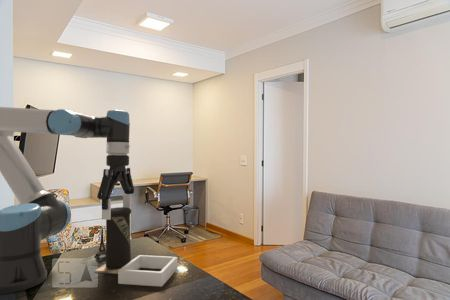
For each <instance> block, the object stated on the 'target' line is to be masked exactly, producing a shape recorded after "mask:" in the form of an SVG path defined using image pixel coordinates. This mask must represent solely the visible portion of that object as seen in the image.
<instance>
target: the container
mask: <svg viewBox="0 0 450 300" xmlns="http://www.w3.org/2000/svg"><path fill="white" fill-rule="evenodd" d="M131 213H132V208H131V209H130V208H126V207H123V206H121V207H113V208H112V207H111V219H110V220H105V249H106V260H105V264H106V267H107V268H109V269H121V268H122V267H123V266H125V265H126V264H128V263H129V262H130V261H131V260H132V256H131V255H132V254H131V253H132V252H131V217H130V215H131Z"/></svg>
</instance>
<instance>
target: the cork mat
mask: <svg viewBox="0 0 450 300" xmlns="http://www.w3.org/2000/svg"><path fill="white" fill-rule="evenodd" d="M132 260H133V259H131V261H132ZM118 270H119V269H109V268H107V267H106V263H104V264H103V265H100V266H99V267H98V268H97V269H95V270H94V273H102V274H115V275H116V274H117V275H118Z"/></svg>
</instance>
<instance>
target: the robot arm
mask: <svg viewBox="0 0 450 300" xmlns="http://www.w3.org/2000/svg"><path fill="white" fill-rule="evenodd" d="M130 126H131V124H130V114H129V112H128V111H126V110H121V109H120V110H119V109H112V110H107V112H106V116H91V115H87V114H83V113H79V112H76V111H73V110H72V109H63V108H60V109H43V108H42V109H39V108H27V107H26V108H25V107H23V108H22V107H9V106H0V173H1V175H2V176H3V178H4V180H5V182H6V183H7V185H8V187H9V188H10V189H11V191H12V193H13V195H14V196H15V198H16V199H17V200H18V203H19V204H16V205H10V206H7V207H4V208H2V209H0V295H2V294H12V293H17V292H22V291H25V290H27V289H31V288H34V287H36V286H38V285H40V284H42V283H44V282H45V281H46V280H47V278H48V268H47V267H46V265H45V262H44V259H43V257H42V252H41V251H42V250H41V249H42V246H41V245H42V243H41V242H42V240H45V239H46V238H50V237H52V236H56V235H58V234H59V233H60V232H63V231H64V230H65V229H66V228H67V227H68V226H69V224H70V221H71V218H72V212H71V208H70V206H69V205H68V204H67V203H66V202H64V201H62V200H58V199H57V198H56V196H55V195H54V193H53V192H50V191H47V190H46V189H45V188H44V186H43V184H42V183H41V181H40V179H39V178H38V176H37V174H36V173H35V172H34V170H33V168H32V167H31V165H30V164H29V162H28V160H27V159H26V157H25V156H24V154H23V152H22V151H21V150H20V148H19V146H18V145H17V143H16V141H15V140H14V138H13V137H14V135H15V133H28V134H29V133H32V134H43V135H44V134H45V135H46V134H49V135H58V136H59V135H61V136H71V137H72V136H73V137H75V138H81V139H87V138H90V139H92V138H93V139H94V138H96V139H97V138H98V139H99V138H104V139H105V138H106V153H105V154H107V155H106V166H107V167H108V166H109V168H104V169H103V172H102V173H103V174H102V178H101V182H100V186H99V189H98V191H97V192H98V193H97V195H96V196H97V197H96V198H97V199H98V200H101V220H105V221H106V220H110V219H111V208H112V202H111V201H112V200H111V195H112V193H113V191H114V188H115V186H116V185H117V183H118V182H119V183H120V186H121V188H122V190H123V192H124V193H123V194H122V207H126V208H130V209H131V210H132V208H131V207H132V205H131V204H132V200H131V199H132V194H134V193H135V187H134V182H133V179H132V178H133V177H132V174H131V167H128V166H129V165H130V156H129V155H128V154H130Z"/></svg>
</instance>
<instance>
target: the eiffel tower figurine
mask: <svg viewBox="0 0 450 300" xmlns="http://www.w3.org/2000/svg"><path fill="white" fill-rule="evenodd" d="M100 229H101V233H100V243H99V248H98V249H97V252H96V253H95V254H93V255H90V256H89V257H86V258H84V259H82V260H81V261H82V264H90V265H91V266H100V264H97V263H96V262H99V261H104V260H105V261H106V243H104V241H105V240H104V227H103V226H101V227H100ZM94 262H95V263H94Z"/></svg>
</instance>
